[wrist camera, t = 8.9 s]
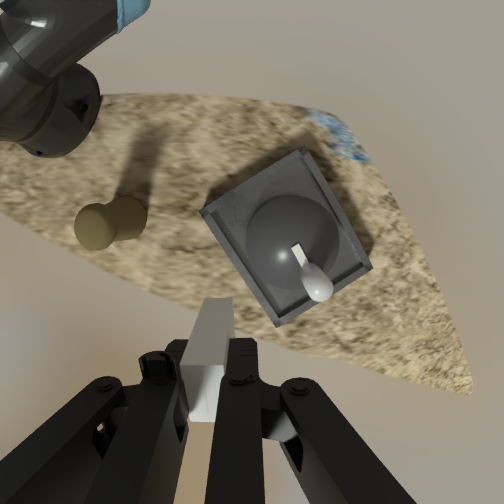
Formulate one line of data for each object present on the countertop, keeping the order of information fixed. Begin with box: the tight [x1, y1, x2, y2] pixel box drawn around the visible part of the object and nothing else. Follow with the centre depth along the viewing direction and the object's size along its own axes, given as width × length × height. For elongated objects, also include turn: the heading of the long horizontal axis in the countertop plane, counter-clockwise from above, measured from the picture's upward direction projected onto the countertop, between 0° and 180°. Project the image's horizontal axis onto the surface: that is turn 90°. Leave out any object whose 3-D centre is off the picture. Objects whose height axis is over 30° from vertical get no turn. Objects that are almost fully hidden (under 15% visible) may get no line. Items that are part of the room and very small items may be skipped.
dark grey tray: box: [199, 145, 373, 328], centre depth 39 cm, size 18×15×3 cm
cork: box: [74, 196, 147, 251], centre depth 34 cm, size 6×6×11 cm
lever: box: [246, 195, 340, 302], centre depth 33 cm, size 11×11×9 cm
